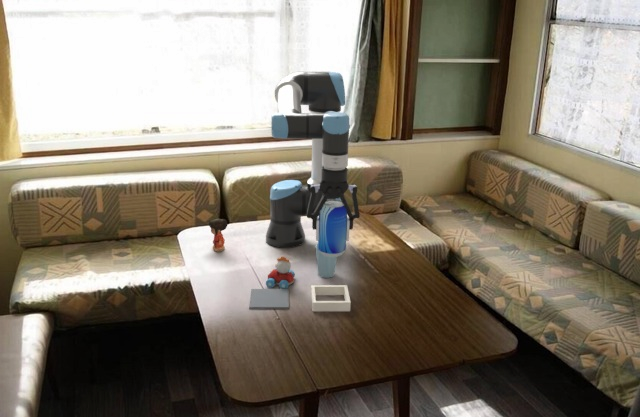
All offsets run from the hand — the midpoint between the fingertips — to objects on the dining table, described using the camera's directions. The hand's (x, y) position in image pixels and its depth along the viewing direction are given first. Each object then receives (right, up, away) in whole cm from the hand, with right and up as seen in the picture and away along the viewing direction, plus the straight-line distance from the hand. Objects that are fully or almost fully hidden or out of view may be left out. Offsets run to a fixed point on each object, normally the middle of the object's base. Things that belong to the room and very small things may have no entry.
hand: (332, 239), depth 187 cm
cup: (-2, -14, +26) cm, 29 cm away
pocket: (0, -20, +7) cm, 21 cm away
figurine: (-42, -6, +44) cm, 61 cm away
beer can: (0, -4, +2) cm, 5 cm away
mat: (-20, -19, +8) cm, 29 cm away
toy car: (-17, -16, +19) cm, 30 cm away
